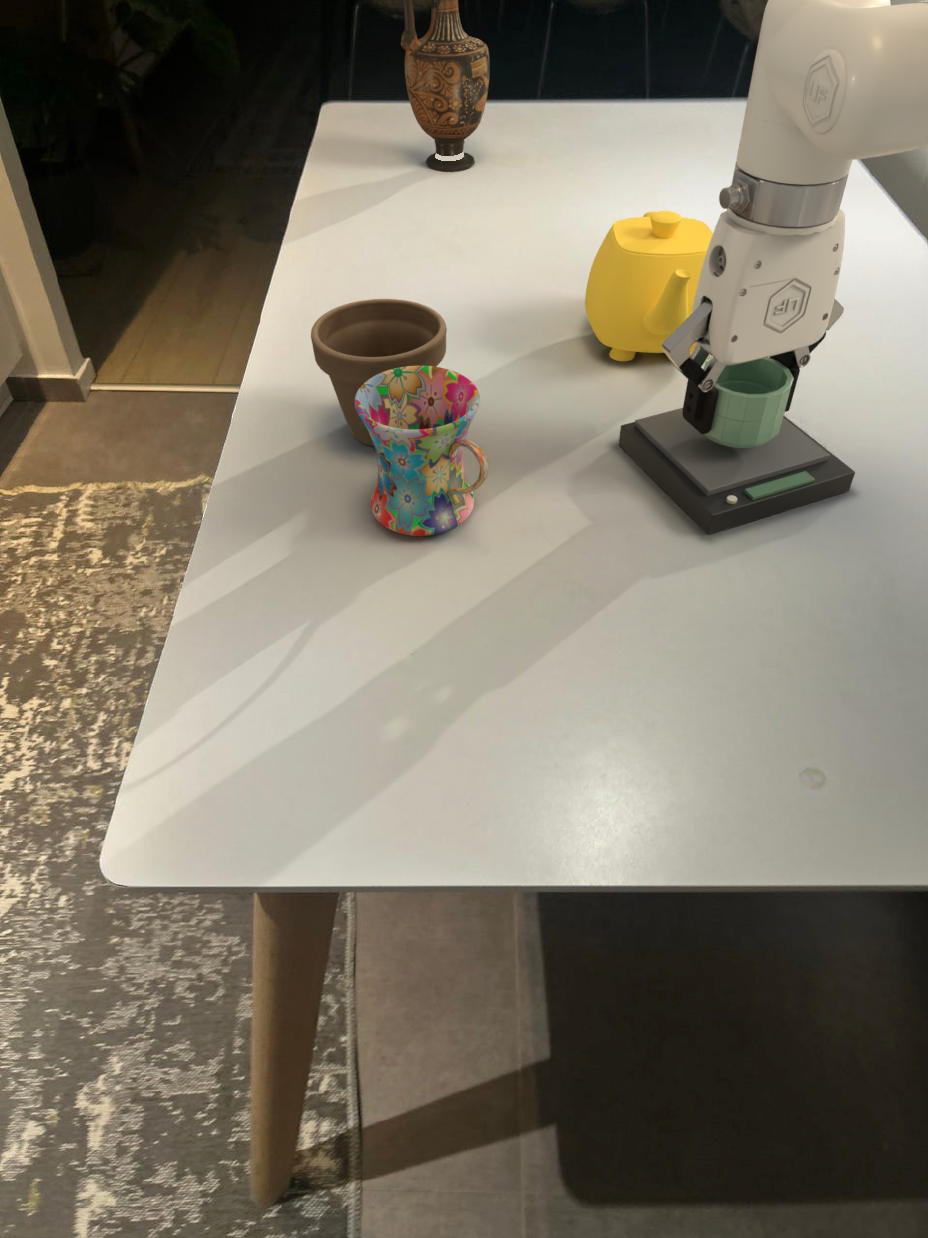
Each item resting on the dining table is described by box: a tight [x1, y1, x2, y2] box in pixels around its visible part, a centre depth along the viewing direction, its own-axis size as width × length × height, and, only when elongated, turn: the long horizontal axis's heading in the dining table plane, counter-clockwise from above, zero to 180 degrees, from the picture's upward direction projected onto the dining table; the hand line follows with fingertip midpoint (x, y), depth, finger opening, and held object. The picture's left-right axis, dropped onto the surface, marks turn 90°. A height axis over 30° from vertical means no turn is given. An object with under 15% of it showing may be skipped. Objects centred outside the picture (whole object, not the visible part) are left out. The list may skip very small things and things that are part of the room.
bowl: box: [702, 357, 793, 448], centre depth 75 cm, size 7×7×5 cm
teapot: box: [584, 210, 713, 362], centre depth 90 cm, size 14×20×13 cm
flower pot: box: [310, 298, 448, 447], centre depth 81 cm, size 12×11×10 cm
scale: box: [618, 407, 856, 535], centre depth 79 cm, size 14×14×3 cm
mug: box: [355, 366, 489, 537], centre depth 71 cm, size 12×9×11 cm
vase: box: [400, 0, 491, 172], centre depth 123 cm, size 12×12×30 cm
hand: (735, 413), depth 77 cm, fingers closed on bowl, 7 cm apart
